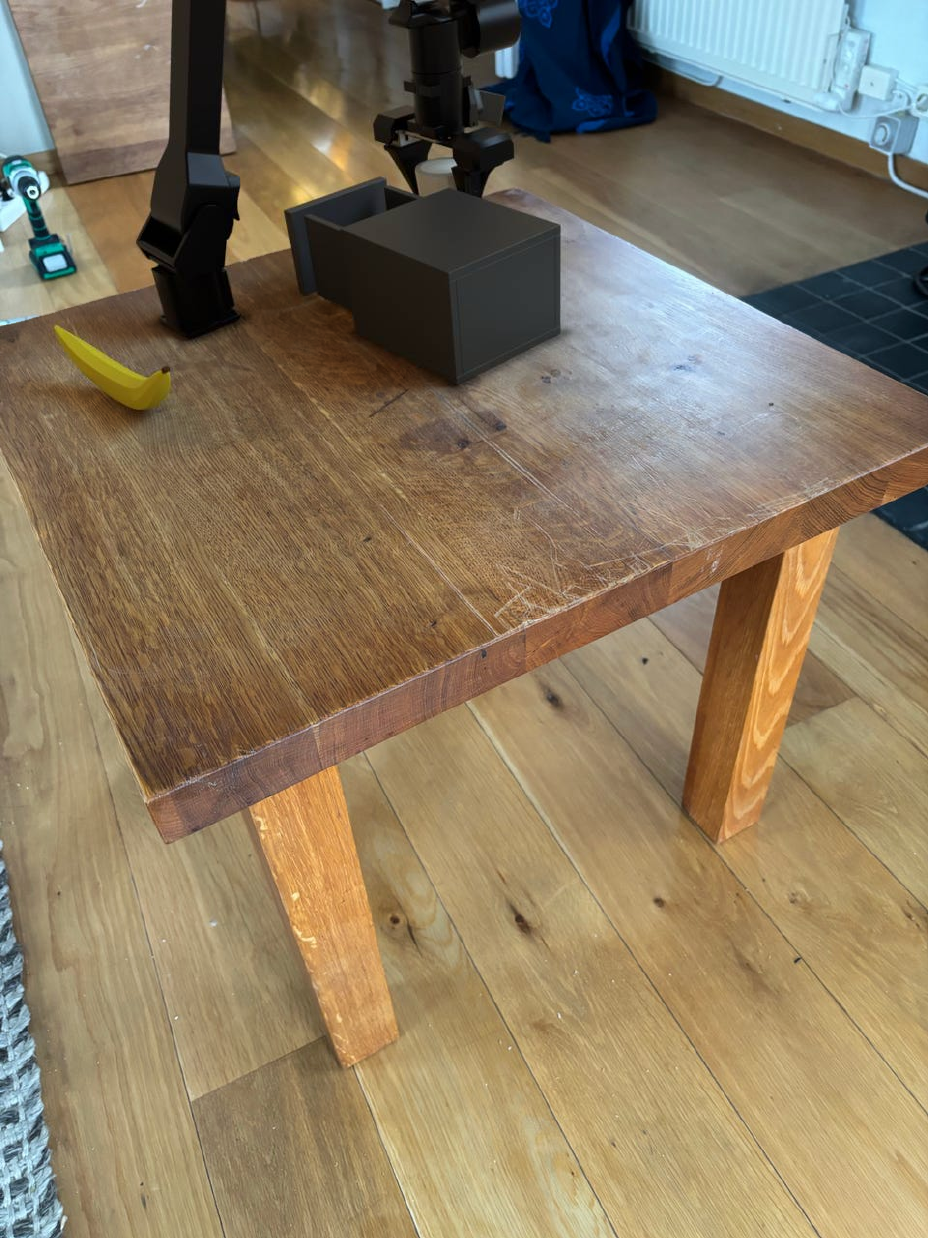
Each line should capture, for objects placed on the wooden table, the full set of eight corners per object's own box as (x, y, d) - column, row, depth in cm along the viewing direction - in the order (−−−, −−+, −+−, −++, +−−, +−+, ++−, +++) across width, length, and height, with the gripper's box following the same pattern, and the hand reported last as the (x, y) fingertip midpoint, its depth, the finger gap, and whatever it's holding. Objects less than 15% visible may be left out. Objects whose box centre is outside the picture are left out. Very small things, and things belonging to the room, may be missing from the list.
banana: (85, 365, 96) (63, 305, 92) (200, 424, 87) (181, 360, 82) (59, 377, 95) (35, 317, 91) (173, 439, 85) (153, 374, 81)
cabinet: (355, 333, 98) (339, 228, 91) (456, 289, 104) (448, 187, 97) (457, 385, 89) (448, 272, 82) (560, 333, 95) (561, 224, 88)
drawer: (277, 282, 106) (260, 200, 100) (367, 247, 112) (356, 167, 106) (382, 334, 95) (370, 246, 89) (475, 292, 101) (470, 206, 95)
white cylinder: (453, 241, 114) (449, 179, 109) (408, 230, 117) (402, 170, 112) (487, 221, 117) (484, 160, 113) (443, 211, 121) (439, 152, 116)
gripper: (549, 63, 104) (550, 211, 114) (437, 40, 115) (447, 177, 125) (472, 87, 99) (480, 240, 109) (362, 61, 110) (379, 202, 120)
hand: (447, 212), depth 116 cm, fingers open, 8 cm apart
